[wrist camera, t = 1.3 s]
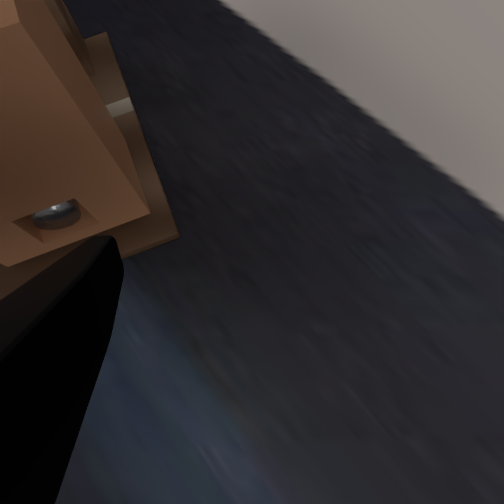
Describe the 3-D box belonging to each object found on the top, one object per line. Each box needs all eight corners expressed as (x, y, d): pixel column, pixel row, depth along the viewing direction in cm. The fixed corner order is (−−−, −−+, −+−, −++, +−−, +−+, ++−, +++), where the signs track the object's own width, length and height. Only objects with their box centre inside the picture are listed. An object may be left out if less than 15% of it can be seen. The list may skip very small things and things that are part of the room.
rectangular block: (150, 213, 24) (19, 21, 12) (7, 266, 24) (-280, 123, 12) (125, 139, 26) (-14, -97, 14) (-10, 188, 26) (-279, -12, 13)
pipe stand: (180, 237, 25) (147, 182, 19) (5, 303, 24) (-89, 269, 18) (109, 38, 30) (63, -59, 23) (-39, 90, 29) (-126, 4, 23)
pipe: (89, 219, 23) (69, 200, 21) (46, 235, 23) (21, 217, 21) (43, 61, 26) (22, 30, 24) (5, 74, 26) (-19, 44, 24)
